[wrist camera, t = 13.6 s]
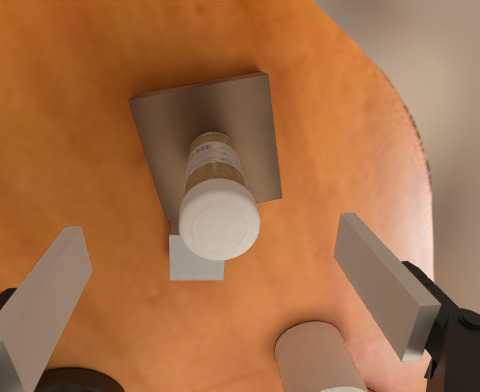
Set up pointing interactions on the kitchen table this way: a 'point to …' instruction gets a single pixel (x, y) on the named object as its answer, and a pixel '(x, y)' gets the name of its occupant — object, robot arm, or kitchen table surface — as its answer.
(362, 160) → the kitchen table surface
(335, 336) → the toilet tissue
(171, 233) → the grey block
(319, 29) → the kitchen table surface
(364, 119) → the kitchen table surface
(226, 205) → the sprinkles bottle
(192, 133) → the walnut block
